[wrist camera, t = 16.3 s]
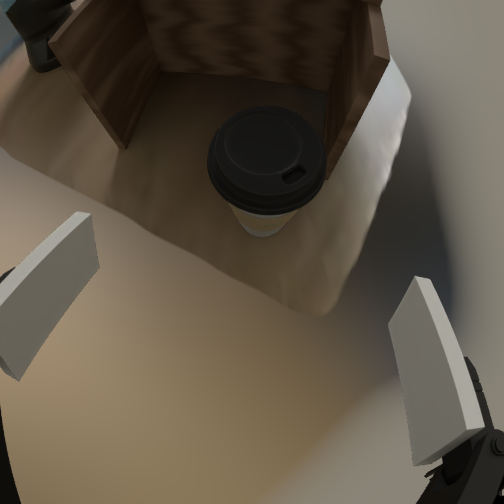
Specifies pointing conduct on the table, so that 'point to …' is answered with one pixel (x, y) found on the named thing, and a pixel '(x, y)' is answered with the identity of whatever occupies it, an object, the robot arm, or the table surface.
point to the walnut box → (225, 53)
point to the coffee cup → (266, 166)
